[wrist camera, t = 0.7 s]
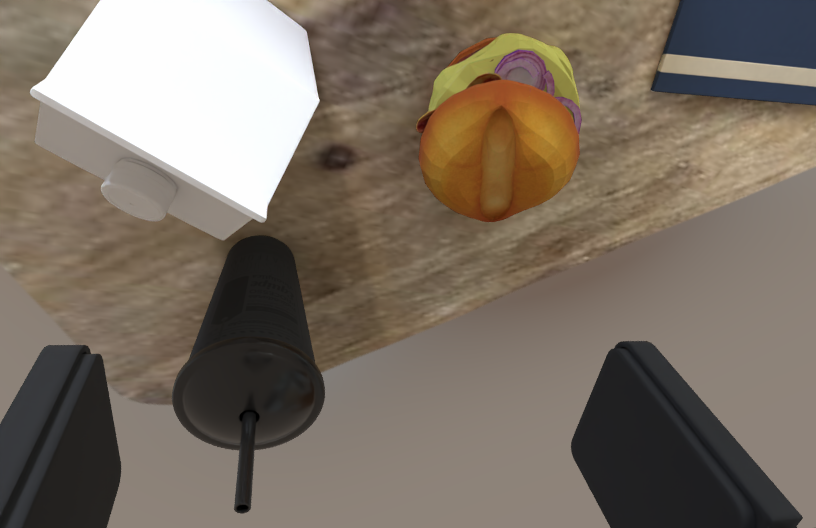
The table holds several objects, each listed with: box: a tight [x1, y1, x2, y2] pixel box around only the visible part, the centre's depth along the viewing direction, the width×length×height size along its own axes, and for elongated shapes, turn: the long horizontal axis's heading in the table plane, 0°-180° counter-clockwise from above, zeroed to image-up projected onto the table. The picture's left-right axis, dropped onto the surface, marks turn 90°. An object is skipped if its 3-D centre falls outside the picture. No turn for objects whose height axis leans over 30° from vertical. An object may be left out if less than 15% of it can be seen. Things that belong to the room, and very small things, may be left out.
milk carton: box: [30, 0, 320, 240], centre depth 24 cm, size 7×7×19 cm
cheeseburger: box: [416, 33, 582, 222], centre depth 34 cm, size 10×11×10 cm
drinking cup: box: [172, 236, 325, 513], centre depth 32 cm, size 8×8×20 cm
